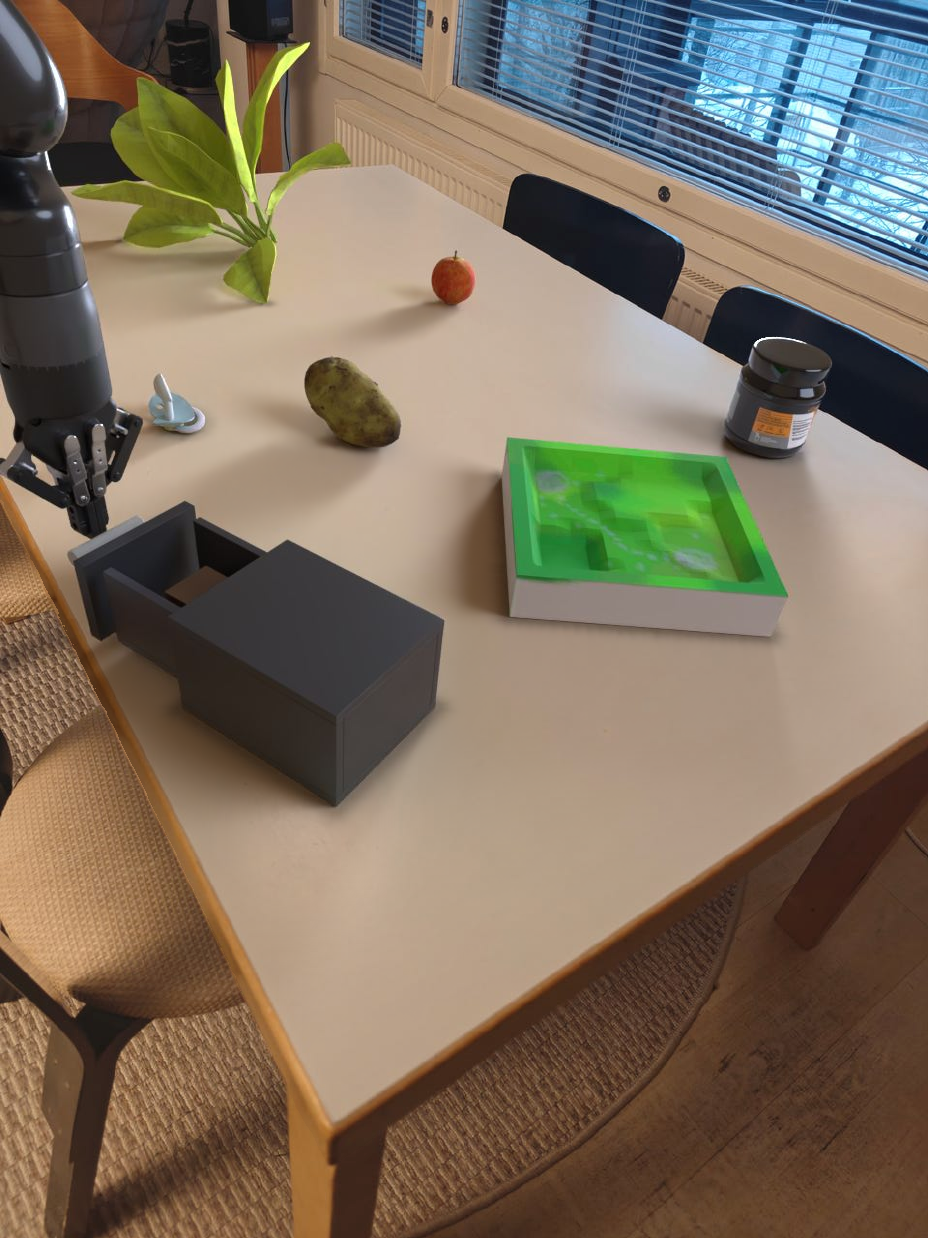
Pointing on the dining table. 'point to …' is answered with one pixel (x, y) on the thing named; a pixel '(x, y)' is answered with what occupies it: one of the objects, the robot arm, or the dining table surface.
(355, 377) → the potato
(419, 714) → the cabinet
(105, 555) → the drawer
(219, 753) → the dining table surface
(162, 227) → the artificial plant
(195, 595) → the block
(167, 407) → the pacifier
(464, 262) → the fruit
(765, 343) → the supplement container
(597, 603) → the tray
